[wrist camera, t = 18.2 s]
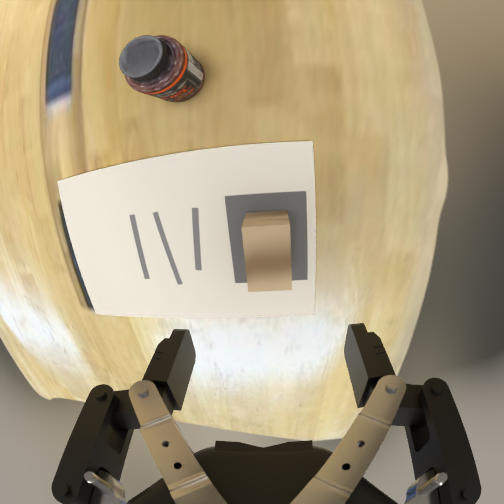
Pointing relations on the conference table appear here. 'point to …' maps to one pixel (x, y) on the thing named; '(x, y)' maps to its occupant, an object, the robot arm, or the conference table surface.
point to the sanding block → (267, 250)
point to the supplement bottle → (161, 68)
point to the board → (191, 231)
